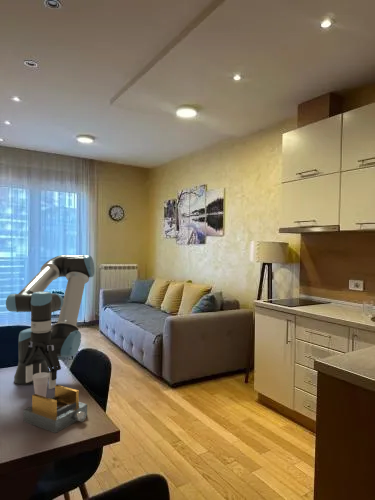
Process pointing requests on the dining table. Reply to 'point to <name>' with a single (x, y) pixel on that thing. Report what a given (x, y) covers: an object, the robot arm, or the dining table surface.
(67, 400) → the vise
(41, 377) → the smoothie
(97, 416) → the dining table surface
